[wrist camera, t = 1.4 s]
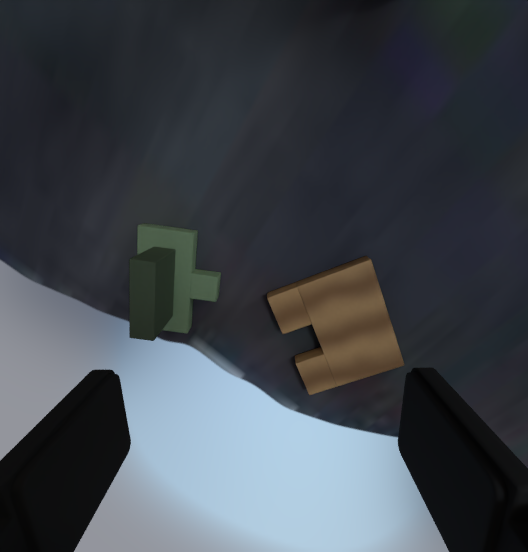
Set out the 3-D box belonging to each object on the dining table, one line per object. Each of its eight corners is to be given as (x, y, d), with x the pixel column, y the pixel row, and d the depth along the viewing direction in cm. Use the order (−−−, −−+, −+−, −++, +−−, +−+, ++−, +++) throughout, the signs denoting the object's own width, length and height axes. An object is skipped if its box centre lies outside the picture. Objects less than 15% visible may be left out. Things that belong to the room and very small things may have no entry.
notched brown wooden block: (267, 292, 35) (266, 298, 33) (366, 255, 33) (371, 259, 31) (307, 386, 38) (309, 395, 37) (398, 356, 37) (404, 365, 35)
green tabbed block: (144, 223, 33) (108, 233, 26) (224, 234, 33) (210, 247, 26) (143, 320, 36) (111, 353, 29) (215, 329, 36) (201, 365, 29)
